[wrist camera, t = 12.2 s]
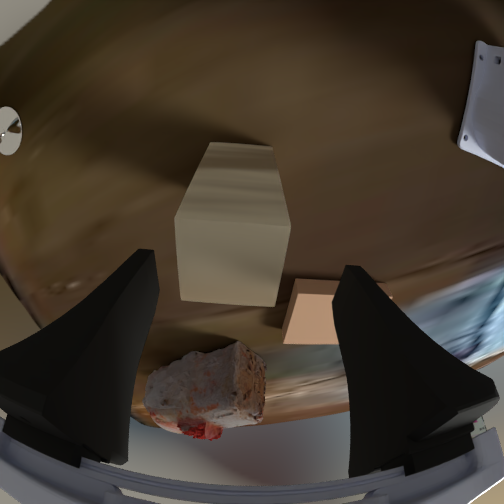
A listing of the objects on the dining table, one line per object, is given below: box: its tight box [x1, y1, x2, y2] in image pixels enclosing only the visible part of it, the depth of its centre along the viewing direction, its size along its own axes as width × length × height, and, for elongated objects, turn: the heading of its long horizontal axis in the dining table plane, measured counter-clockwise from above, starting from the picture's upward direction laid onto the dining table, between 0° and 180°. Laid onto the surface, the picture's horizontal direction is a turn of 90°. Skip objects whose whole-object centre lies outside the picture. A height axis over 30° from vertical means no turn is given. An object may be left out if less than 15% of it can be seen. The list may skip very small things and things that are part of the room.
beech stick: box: [175, 142, 291, 307], centre depth 15 cm, size 4×4×10 cm
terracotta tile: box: [282, 278, 393, 344], centre depth 26 cm, size 2×9×7 cm
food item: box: [143, 341, 267, 441], centre depth 29 cm, size 14×8×10 cm, turn 123°
